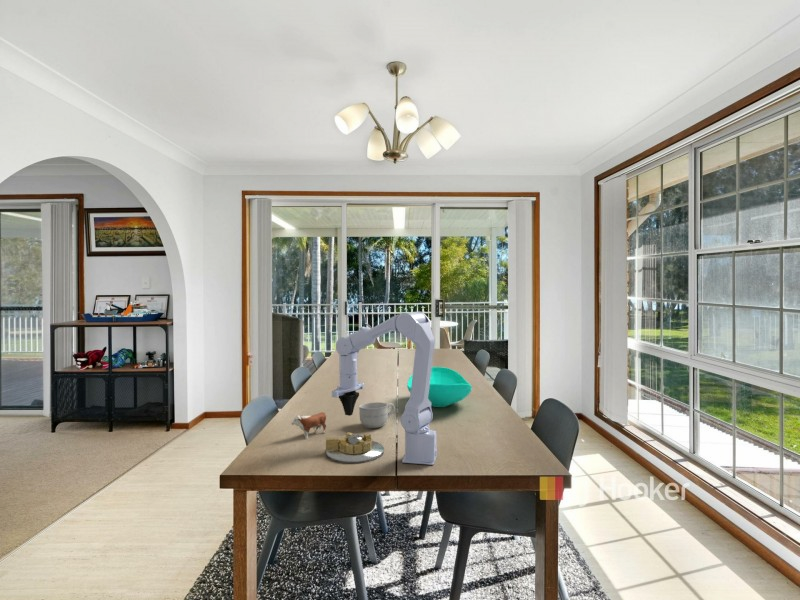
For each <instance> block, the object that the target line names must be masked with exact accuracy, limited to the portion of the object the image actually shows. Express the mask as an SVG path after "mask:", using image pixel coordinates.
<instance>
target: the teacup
mask: <svg viewBox="0 0 800 600" xmlns="http://www.w3.org/2000/svg"><path fill="white" fill-rule="evenodd" d="M389 407H391V410H390V411H388V409H389ZM358 410H359V421H360V423H361V425H363V426H364V427H365V428H368V429H377V428H382V427H383V426H384V425H385V424H386V423H387V422H388V419H389V417H390V416H392V414H394V413H395V411H396V407H395V404H393V403H392V402H389V403H386V402H377V401H376V402H375V401H374V402H366V403H361V404H360V405H358Z"/></svg>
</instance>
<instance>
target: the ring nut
mask: <svg viewBox="0 0 800 600" xmlns="http://www.w3.org/2000/svg"><path fill="white" fill-rule="evenodd" d="M351 435H354V434H353V433H352V432H350V431H349V432H348V431H347V432H346V433H345V435H344V436H342V437H340V438H339V437H338V436H335V437H326V438H325V451H326V450H338V449H339V451H341V452H343V453H347V454H359V453H365V452H367V451H369V450H371V449H372V441H373V439H372V434H371V433H365V434H360V435H361V436H362V440H358V444H348V437H349V436H351Z"/></svg>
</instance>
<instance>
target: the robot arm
mask: <svg viewBox="0 0 800 600" xmlns="http://www.w3.org/2000/svg"><path fill="white" fill-rule="evenodd" d="M391 332H399V333H400V334H401V335H402V336H404V337H406V338H407V339H409V340H410V341H411V342H412V343H413V345H414V346H415V350H414V359H413V367H412V374H413V376H412V384H411V393H410V392H409V393H410V394H409V399H408V401H407V402H406V404H405V405H404V410H403V412H402V414H401V415H400V423H401V427H402V428H403V430H404V442H405V443H404V444H405V445H404V446H405V448H404V452H405V453H404V456H403V458H402V460H401V463H404V464H415V465H416V464H418V465H430V466H432V465H433V466H434V464H435V462H436V459H437V456H438V450H437V448H438V447H437V444H438V443H437V442H438V441H437V438H438V437H437V431H436V430H432V429H431V428H430V423H432V421H433V417H434V415H433V411H432V406H431V402H430V401H429V399H428V395H429V386H430V378H431V370H432V367H433V360H434V352H435V344H436V341H435V337H434V334H433V331H432V328H431V319H429V317H428V316H427V315H426V314H425V313H424V312H422V311H415V312H404V313H403V312H402V313H401V314H397V315H393V316H391V317H390V318H388V319H386V320H385V321H383V322H381V323H379V324H377V325H375V326H374V327H372V328H371V327H369V326H366V327H365V326H361V327H359V330H357V331H355V332H350V333H349V334H348V336H346V337H345V336H342V337H339V338H338V339H337V341H336V342H335V351H336V352H337V353H338V356H339V363H338V364H339V385H338V386H337V388H335V389H334V390H332V391H331V397H332V398H338V399H339V401H340V403H341V405H342V408H343V411H344V415H345V416H348V417H351V416H352V415H353V413H354V410H355V405H356V402H357V400H358V398H359V396H360V392H358V391H359V390H364V389H365V383H364V382H358V357H359V352H360V351H361V350H363V349H365V348H367V347H369V346H371V345H373V344H375V343H376V339H377V338H379V337H382V336H384V335H386V334H388V333H391Z"/></svg>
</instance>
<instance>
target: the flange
mask: <svg viewBox="0 0 800 600" xmlns="http://www.w3.org/2000/svg"><path fill="white" fill-rule="evenodd" d="M361 435H362V434H353V435H351V436H349V437H348V444H358V440H362V436H361ZM325 453H326V457H327V458H328V459H329V460H331V461H334V462H337V463H342V464H361V463H368V462H372V461H375V460H377V458H378V459H379V458H381V457H382V456H383V455H384V454H385V447H384V445H383V444H381V443H380V442H377V441H374V440H372V449H371V450H369V451H367V452H365V453H359V454H347V453H343V452H341V451H339V449H338V450H326V449H325Z"/></svg>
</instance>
